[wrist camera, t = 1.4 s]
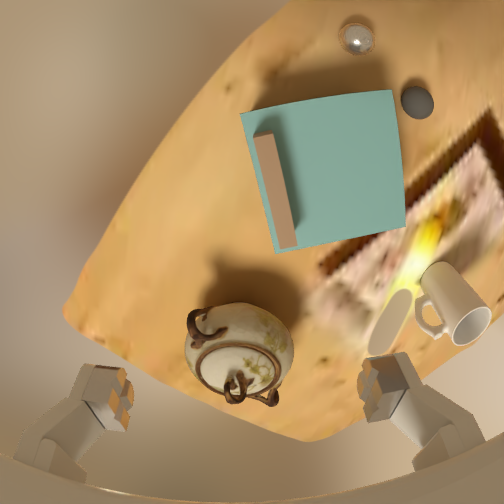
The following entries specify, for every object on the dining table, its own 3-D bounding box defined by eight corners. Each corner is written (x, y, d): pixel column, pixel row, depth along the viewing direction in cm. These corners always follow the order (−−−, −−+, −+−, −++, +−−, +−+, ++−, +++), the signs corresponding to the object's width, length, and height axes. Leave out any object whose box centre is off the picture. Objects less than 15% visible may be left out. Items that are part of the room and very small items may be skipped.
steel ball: (363, 26, 26) (375, 19, 23) (371, 56, 28) (384, 52, 24) (331, 28, 27) (340, 20, 23) (339, 59, 28) (349, 55, 25)
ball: (420, 85, 29) (437, 86, 25) (425, 116, 31) (441, 120, 27) (393, 87, 29) (408, 87, 26) (398, 118, 31) (413, 122, 28)
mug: (452, 253, 40) (494, 298, 29) (454, 285, 43) (489, 332, 32) (397, 276, 42) (430, 330, 31) (402, 308, 45) (430, 362, 34)
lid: (387, 89, 24) (405, 89, 20) (401, 222, 30) (417, 239, 26) (240, 113, 25) (237, 116, 22) (274, 249, 32) (276, 269, 28)
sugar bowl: (162, 299, 45) (132, 375, 31) (244, 250, 40) (237, 329, 27) (238, 372, 52) (234, 445, 39) (314, 340, 48) (327, 418, 35)
